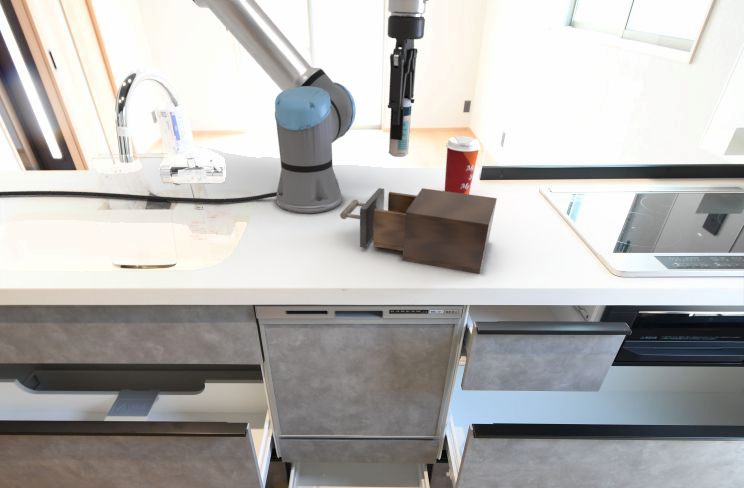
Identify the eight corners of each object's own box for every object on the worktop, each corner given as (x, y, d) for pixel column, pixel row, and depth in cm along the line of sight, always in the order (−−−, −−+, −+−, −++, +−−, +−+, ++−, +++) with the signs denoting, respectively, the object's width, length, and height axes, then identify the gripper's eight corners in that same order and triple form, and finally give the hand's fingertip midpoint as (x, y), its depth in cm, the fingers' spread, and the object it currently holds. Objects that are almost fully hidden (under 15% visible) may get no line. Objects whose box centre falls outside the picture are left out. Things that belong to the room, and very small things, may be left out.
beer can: (396, 150, 110) (399, 96, 103) (412, 154, 108) (416, 99, 100) (384, 154, 107) (386, 99, 100) (400, 159, 105) (404, 102, 97)
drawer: (336, 243, 88) (335, 204, 83) (356, 220, 96) (356, 184, 91) (427, 258, 83) (431, 219, 79) (439, 233, 92) (444, 196, 87)
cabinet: (402, 260, 85) (405, 212, 79) (418, 232, 94) (422, 188, 88) (479, 273, 81) (489, 224, 75) (487, 244, 90) (496, 198, 85)
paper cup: (471, 208, 105) (481, 146, 96) (438, 205, 106) (445, 143, 97) (471, 196, 111) (481, 136, 102) (441, 193, 112) (448, 134, 103)
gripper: (413, 17, 83) (404, 148, 97) (434, 13, 96) (423, 129, 111) (375, 15, 85) (372, 144, 99) (400, 12, 98) (394, 125, 112)
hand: (399, 136), depth 105 cm, fingers closed on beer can, 5 cm apart
